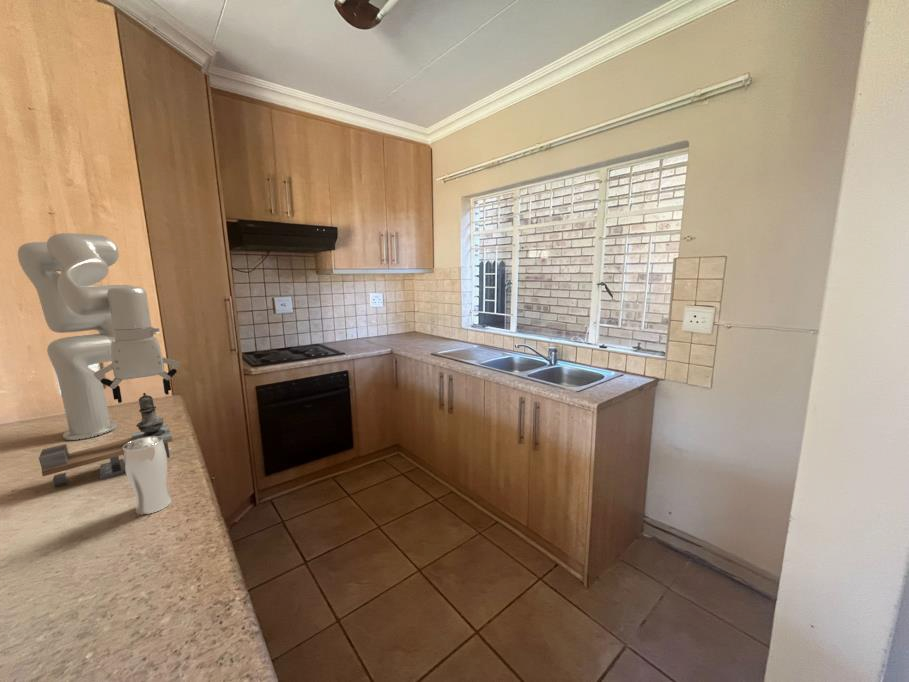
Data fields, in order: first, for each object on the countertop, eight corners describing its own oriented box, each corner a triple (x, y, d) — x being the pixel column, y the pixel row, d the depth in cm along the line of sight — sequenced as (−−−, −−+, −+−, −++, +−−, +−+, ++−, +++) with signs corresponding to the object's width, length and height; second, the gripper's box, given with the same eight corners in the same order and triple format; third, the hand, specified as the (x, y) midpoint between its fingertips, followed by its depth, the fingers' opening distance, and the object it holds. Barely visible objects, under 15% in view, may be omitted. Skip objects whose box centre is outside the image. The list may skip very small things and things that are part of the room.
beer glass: (128, 520, 76) (115, 453, 73) (138, 502, 82) (126, 439, 79) (170, 510, 79) (159, 445, 76) (176, 493, 85) (166, 432, 82)
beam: (47, 462, 91) (43, 446, 90) (168, 431, 106) (166, 417, 106) (42, 478, 83) (37, 461, 83) (172, 442, 99) (170, 427, 98)
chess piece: (151, 439, 97) (142, 396, 94) (133, 438, 98) (123, 396, 95) (172, 430, 102) (163, 389, 100) (154, 429, 103) (145, 388, 101)
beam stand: (57, 479, 91) (53, 462, 91) (167, 450, 106) (165, 435, 105) (53, 493, 86) (49, 474, 85) (170, 460, 100) (168, 444, 99)
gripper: (173, 329, 103) (181, 387, 107) (87, 336, 92) (100, 401, 95) (177, 332, 98) (185, 393, 101) (86, 340, 86) (99, 409, 90)
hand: (144, 397), depth 98 cm, fingers open, 9 cm apart
